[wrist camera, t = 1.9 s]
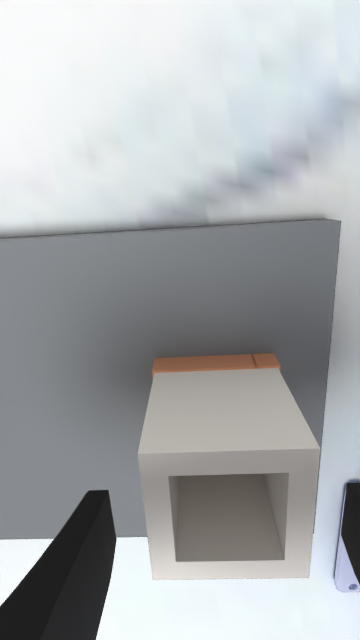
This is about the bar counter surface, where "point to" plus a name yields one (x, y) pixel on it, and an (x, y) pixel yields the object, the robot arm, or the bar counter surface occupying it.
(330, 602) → the bar counter surface
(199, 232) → the pin board
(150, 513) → the sleeve
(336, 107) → the bar counter surface
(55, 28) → the bar counter surface
